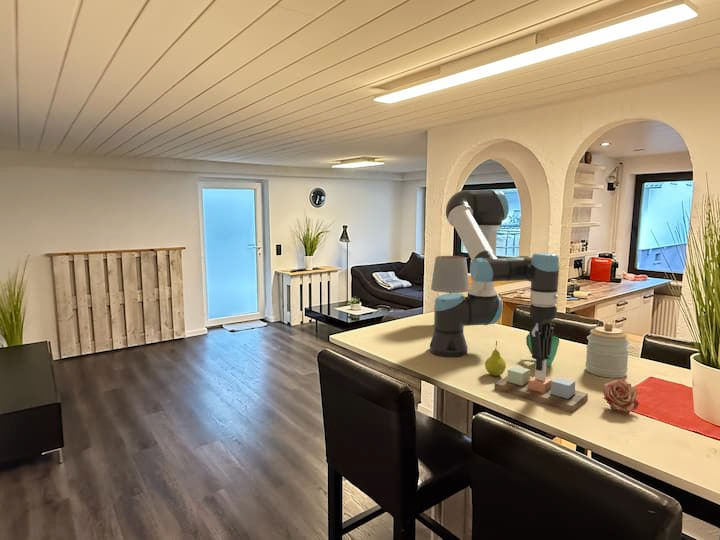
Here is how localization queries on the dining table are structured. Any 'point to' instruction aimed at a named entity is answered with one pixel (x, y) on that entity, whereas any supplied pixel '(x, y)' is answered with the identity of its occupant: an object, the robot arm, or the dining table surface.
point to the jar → (607, 352)
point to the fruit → (495, 364)
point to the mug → (553, 348)
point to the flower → (621, 396)
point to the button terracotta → (539, 385)
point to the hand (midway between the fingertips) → (540, 379)
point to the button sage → (518, 375)
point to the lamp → (450, 274)
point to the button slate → (563, 387)
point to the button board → (542, 396)
